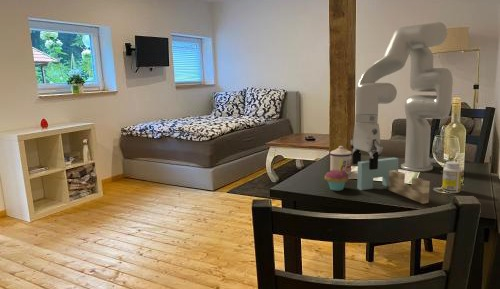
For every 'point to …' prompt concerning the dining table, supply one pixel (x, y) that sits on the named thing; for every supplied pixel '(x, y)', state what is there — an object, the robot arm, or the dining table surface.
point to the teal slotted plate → (375, 172)
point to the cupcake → (337, 178)
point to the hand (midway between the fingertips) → (364, 166)
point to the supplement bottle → (451, 177)
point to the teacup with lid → (336, 158)
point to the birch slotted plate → (409, 187)
